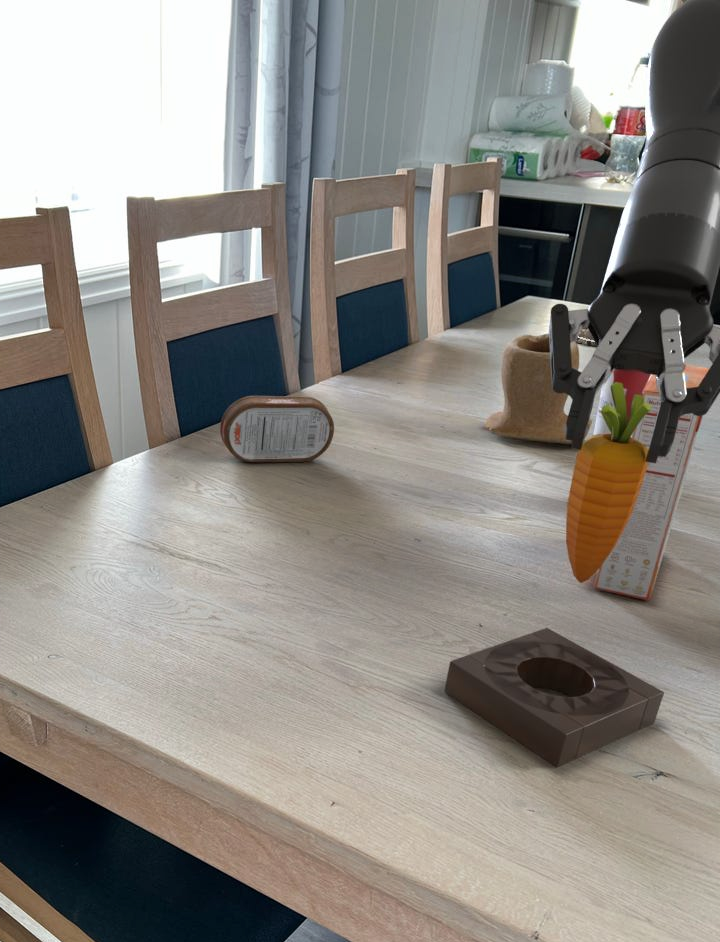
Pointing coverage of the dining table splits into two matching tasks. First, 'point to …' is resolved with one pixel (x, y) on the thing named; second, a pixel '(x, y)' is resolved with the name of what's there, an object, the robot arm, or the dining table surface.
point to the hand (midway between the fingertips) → (614, 449)
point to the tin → (277, 429)
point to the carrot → (605, 486)
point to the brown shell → (585, 334)
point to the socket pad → (548, 716)
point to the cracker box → (652, 501)
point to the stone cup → (531, 393)
